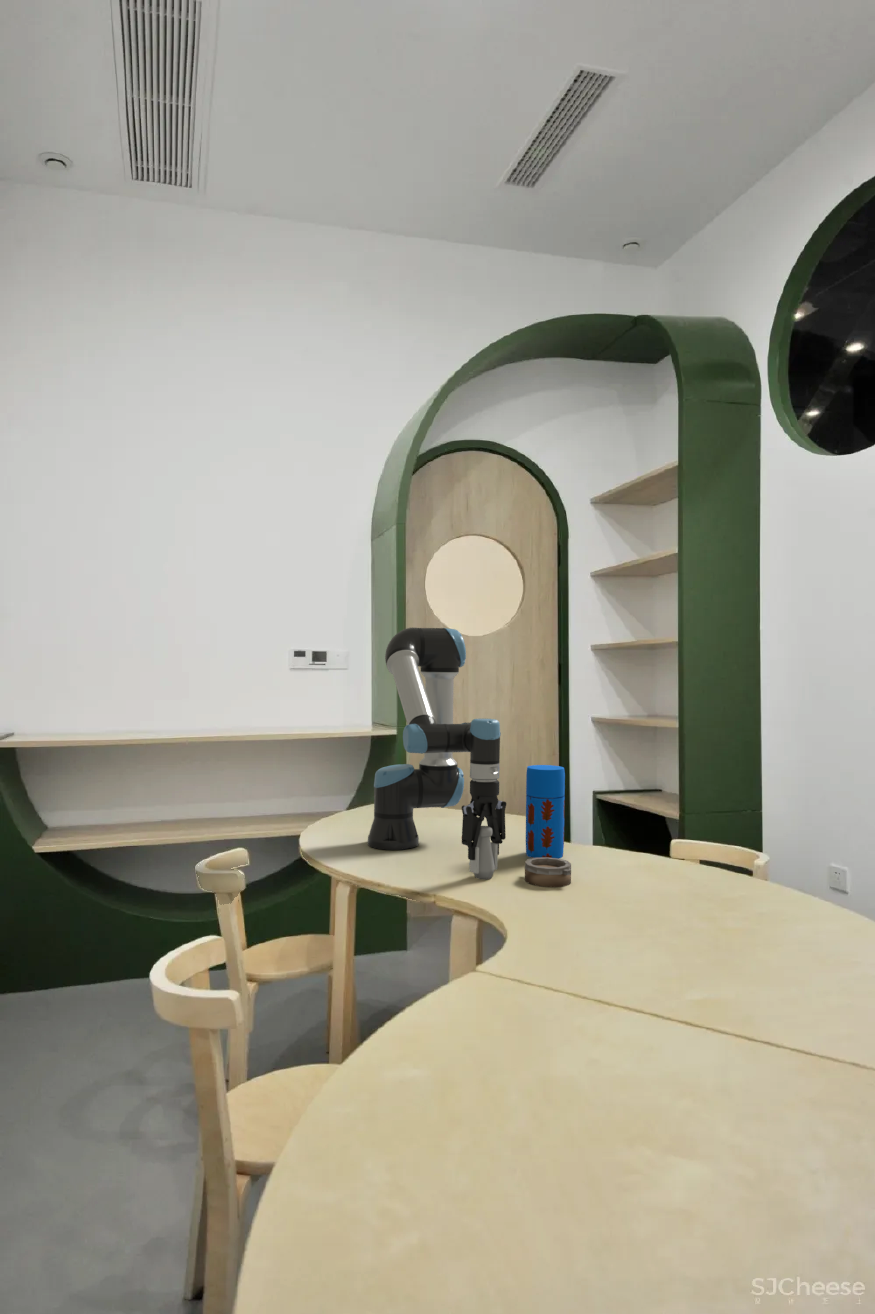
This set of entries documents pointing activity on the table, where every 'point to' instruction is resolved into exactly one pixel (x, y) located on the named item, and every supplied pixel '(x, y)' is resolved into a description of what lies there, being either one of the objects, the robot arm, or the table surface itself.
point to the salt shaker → (485, 854)
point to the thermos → (545, 811)
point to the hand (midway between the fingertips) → (483, 870)
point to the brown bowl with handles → (548, 872)
